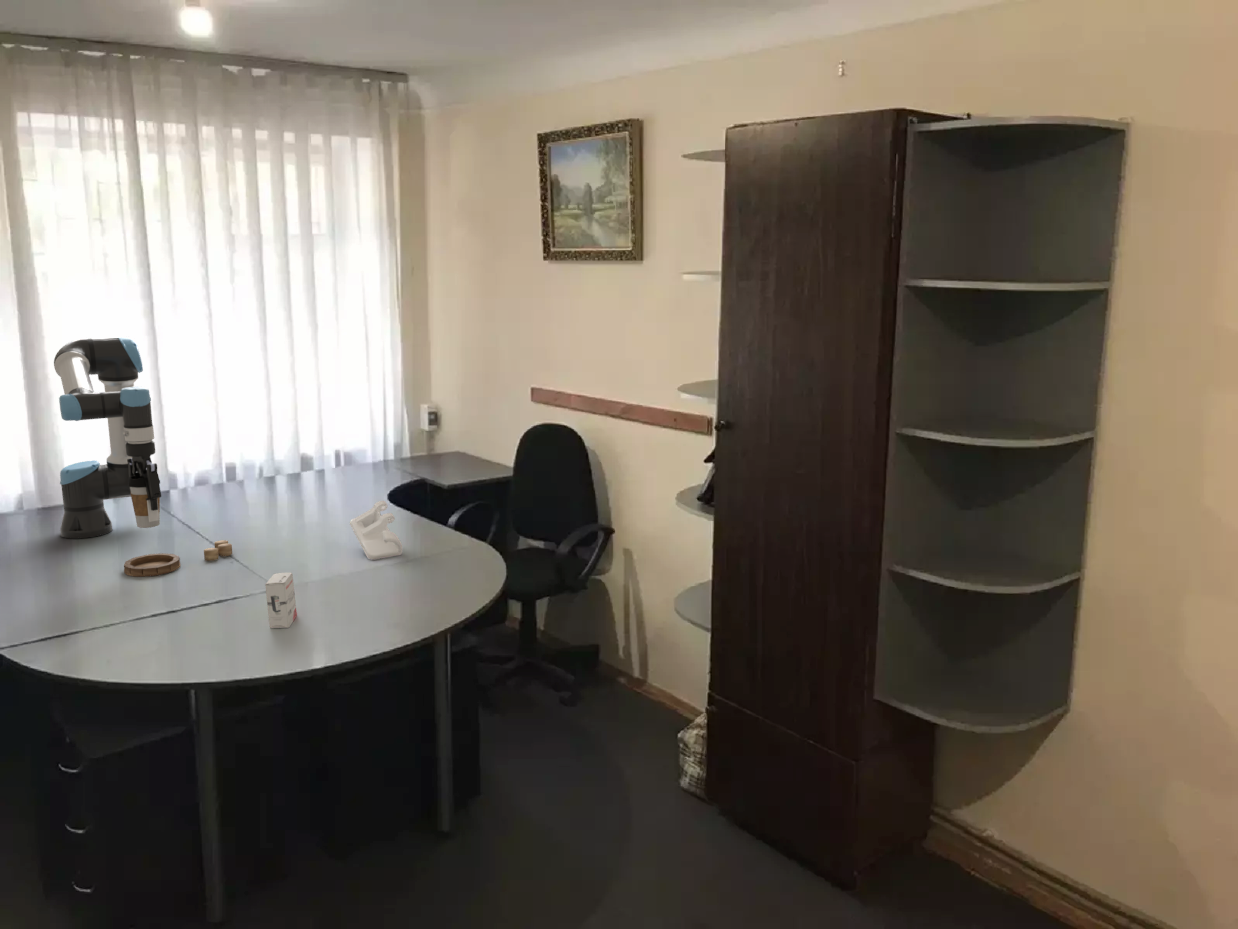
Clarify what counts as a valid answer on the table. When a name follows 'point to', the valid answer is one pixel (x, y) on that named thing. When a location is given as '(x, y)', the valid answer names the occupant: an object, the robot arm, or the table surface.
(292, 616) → the ink box
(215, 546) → the bead
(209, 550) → the bead
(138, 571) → the round tray
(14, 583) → the table surface
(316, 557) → the table surface
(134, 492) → the coffee cup
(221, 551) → the bead
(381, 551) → the white angular bracket-shaped piece
